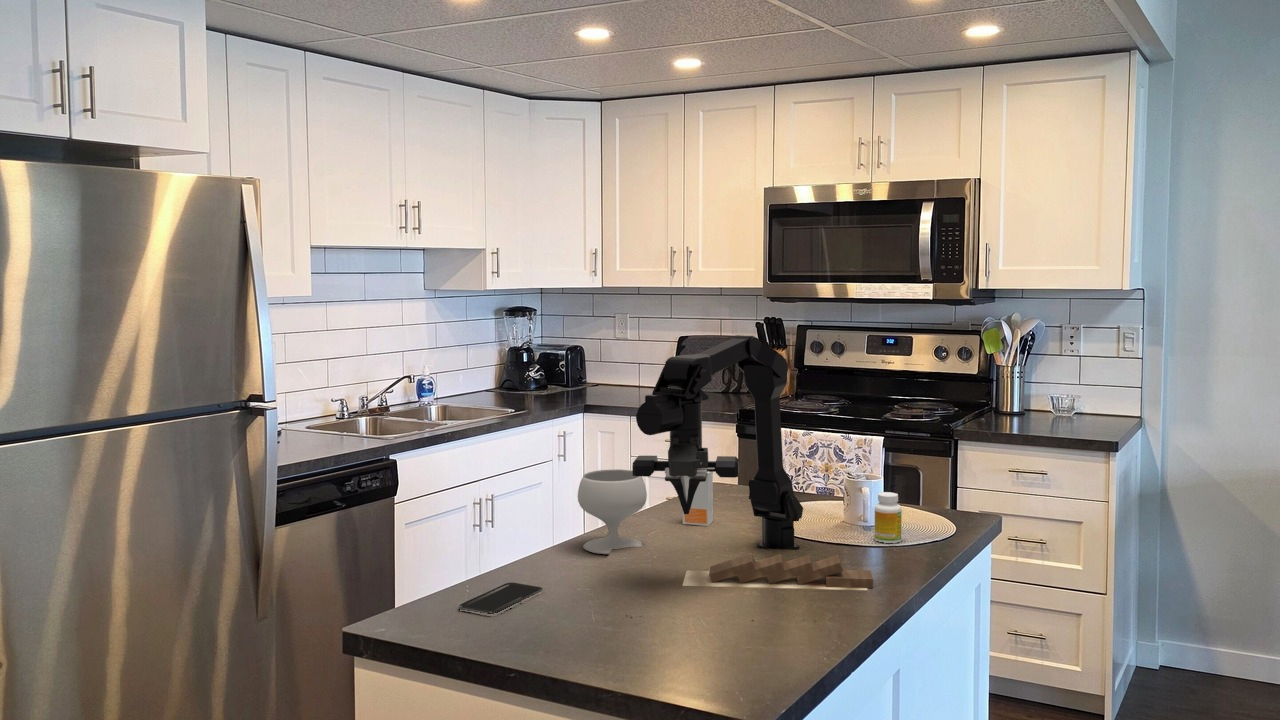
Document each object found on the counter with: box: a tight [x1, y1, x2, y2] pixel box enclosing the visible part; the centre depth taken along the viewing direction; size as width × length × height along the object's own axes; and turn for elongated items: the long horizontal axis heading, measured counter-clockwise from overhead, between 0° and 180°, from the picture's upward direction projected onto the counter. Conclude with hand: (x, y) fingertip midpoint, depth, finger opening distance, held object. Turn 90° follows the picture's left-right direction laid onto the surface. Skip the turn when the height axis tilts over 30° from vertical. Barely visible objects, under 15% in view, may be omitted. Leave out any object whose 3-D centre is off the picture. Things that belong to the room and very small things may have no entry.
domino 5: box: [825, 569, 874, 589], centre depth 185 cm, size 2×5×8 cm
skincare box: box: [682, 472, 714, 527], centre depth 232 cm, size 6×4×12 cm
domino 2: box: [738, 553, 785, 583], centre depth 188 cm, size 2×5×8 cm
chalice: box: [577, 468, 648, 555], centre depth 213 cm, size 14×14×15 cm
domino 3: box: [767, 554, 813, 584], centre depth 187 cm, size 2×5×8 cm
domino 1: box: [709, 552, 756, 583], centre depth 189 cm, size 2×5×8 cm
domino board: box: [682, 569, 869, 591], centre depth 188 cm, size 32×9×1 cm, turn 83°
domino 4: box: [796, 554, 844, 585], centre depth 187 cm, size 2×5×8 cm
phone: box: [458, 582, 543, 614], centre depth 182 cm, size 8×1×15 cm
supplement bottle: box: [873, 491, 903, 544], centre depth 216 cm, size 5×5×10 cm
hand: (686, 513), depth 189 cm, fingers closed
